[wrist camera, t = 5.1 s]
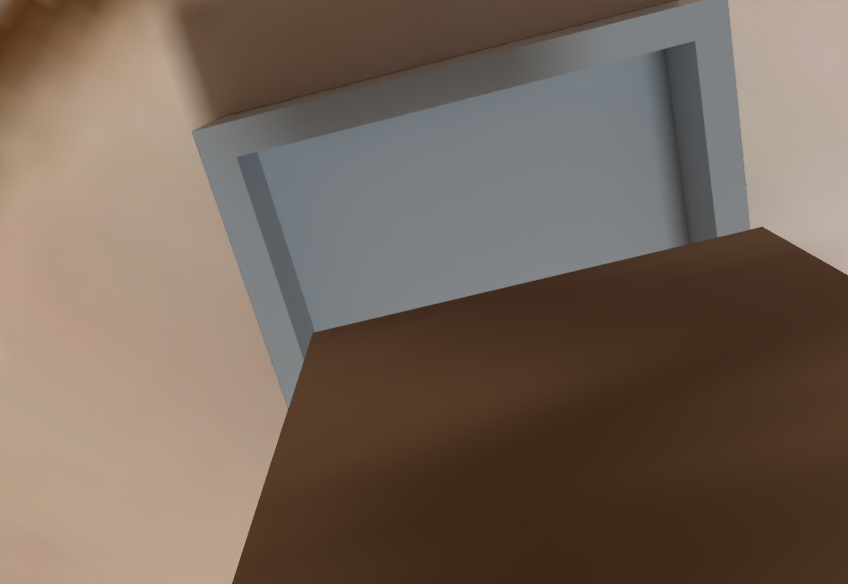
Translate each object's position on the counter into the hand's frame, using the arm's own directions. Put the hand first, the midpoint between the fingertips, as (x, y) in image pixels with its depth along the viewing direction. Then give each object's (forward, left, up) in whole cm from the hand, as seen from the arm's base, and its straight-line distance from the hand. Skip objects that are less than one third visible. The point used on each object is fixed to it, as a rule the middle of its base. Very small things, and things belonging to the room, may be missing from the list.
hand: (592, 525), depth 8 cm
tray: (0, 0, -9) cm, 9 cm away
